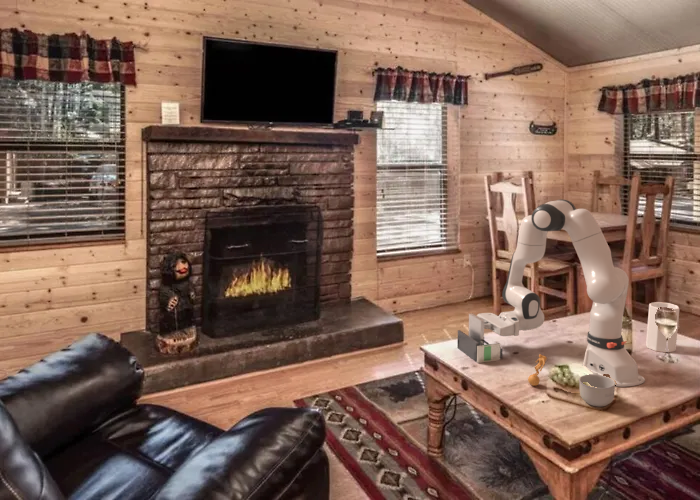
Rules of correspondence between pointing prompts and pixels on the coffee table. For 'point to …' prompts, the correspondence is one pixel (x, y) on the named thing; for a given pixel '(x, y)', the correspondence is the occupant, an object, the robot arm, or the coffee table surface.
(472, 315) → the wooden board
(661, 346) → the cup
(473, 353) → the gauge housing
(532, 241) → the robot arm
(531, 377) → the figurine
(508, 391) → the coffee table surface
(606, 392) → the teacup
